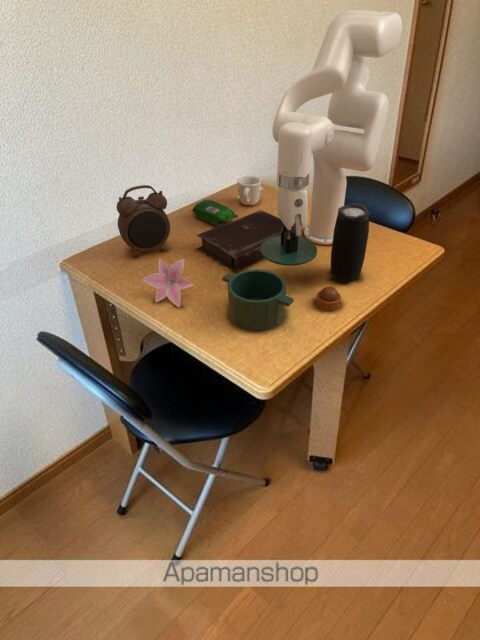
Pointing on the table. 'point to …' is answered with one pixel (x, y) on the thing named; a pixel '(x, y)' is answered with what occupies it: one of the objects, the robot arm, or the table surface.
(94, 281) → the table surface
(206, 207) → the snack package
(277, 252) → the pot lid
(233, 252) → the diary
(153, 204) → the alarm clock
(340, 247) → the portable speaker
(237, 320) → the pot
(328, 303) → the brown domed piece
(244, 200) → the cup
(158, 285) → the lily
